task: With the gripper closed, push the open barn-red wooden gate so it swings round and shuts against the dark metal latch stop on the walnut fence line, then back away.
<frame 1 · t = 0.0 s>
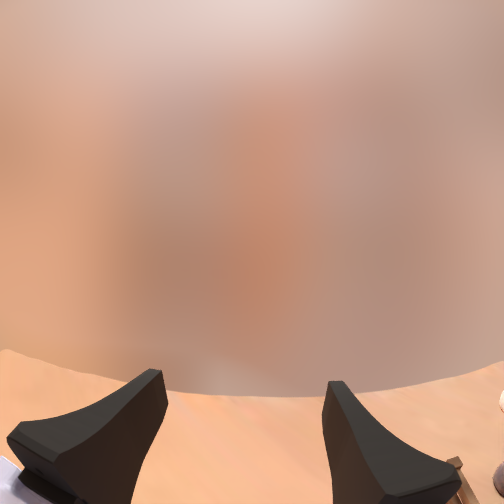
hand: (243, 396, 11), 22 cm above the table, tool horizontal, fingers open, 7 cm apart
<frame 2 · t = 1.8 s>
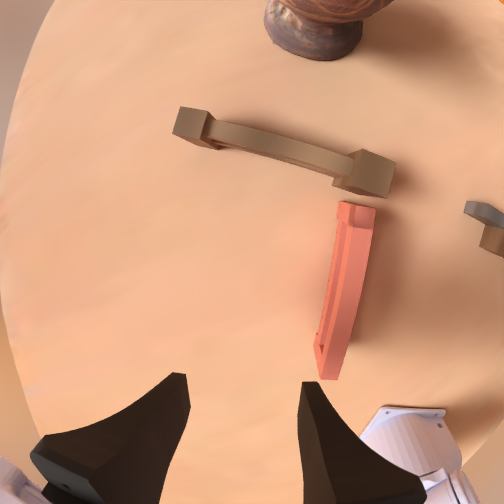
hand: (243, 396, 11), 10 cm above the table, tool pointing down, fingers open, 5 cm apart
fence: (349, 176, 19), on the table
mortar and pestle: (321, 12, 16), on the table
gate: (341, 290, 18), point 2 cm above the table, hinge at 80.0°
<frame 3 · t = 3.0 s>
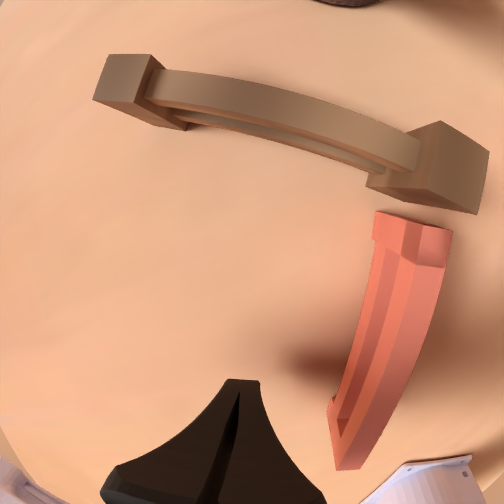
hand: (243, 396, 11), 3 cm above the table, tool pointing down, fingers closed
fence: (390, 173, 11), on the table
gate: (376, 353, 11), point 2 cm above the table, hinge at 80.0°
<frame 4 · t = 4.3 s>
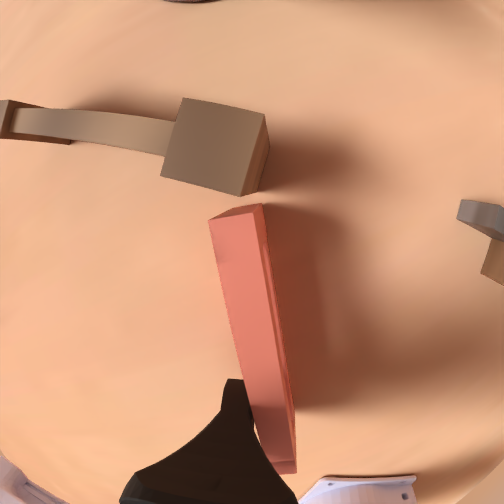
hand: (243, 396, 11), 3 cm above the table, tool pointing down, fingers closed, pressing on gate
fence: (240, 162, 12), on the table
gate: (267, 354, 11), point 2 cm above the table, hinge at 63.8°, touching gripper
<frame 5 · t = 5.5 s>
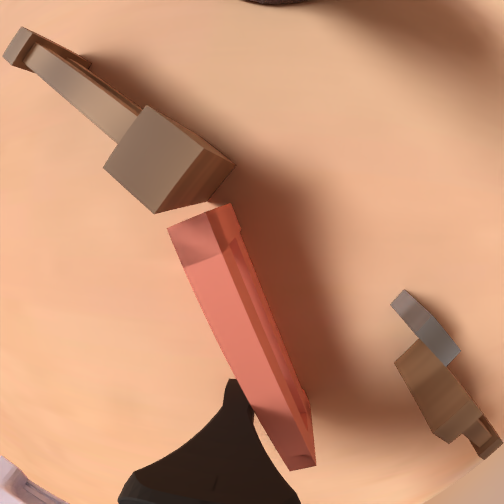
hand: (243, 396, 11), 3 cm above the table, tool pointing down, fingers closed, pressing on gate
fence: (203, 169, 12), on the table
gate: (262, 349, 11), point 2 cm above the table, hinge at 28.6°, touching gripper
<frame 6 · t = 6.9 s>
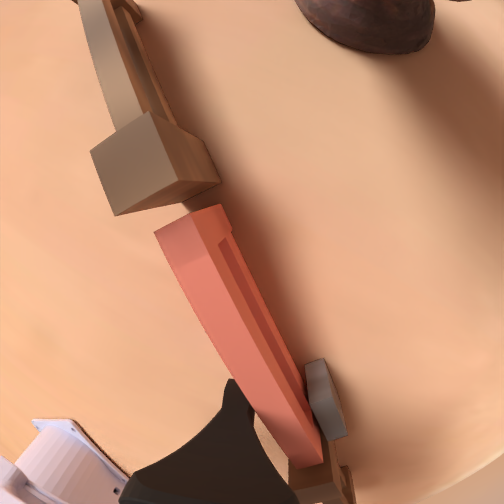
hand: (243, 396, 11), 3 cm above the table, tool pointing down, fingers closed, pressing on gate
fence: (191, 171, 12), on the table
mortar and pestle: (390, 3, 9), on the table
gate: (260, 348, 11), point 2 cm above the table, hinge at -0.7°, touching gripper
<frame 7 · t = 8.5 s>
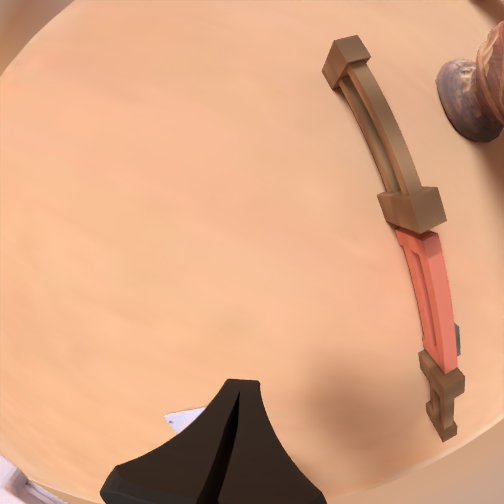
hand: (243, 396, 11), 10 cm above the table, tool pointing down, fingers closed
fence: (392, 203, 19), on the table
mortar and pestle: (480, 102, 16), on the table
gate: (431, 301, 18), point 2 cm above the table, hinge at -0.7°
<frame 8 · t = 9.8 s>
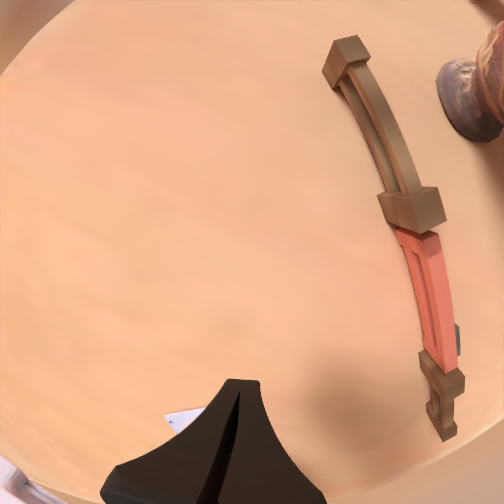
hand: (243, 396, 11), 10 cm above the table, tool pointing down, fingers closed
fence: (392, 203, 19), on the table
mortar and pestle: (480, 102, 16), on the table
gate: (431, 301, 18), point 2 cm above the table, hinge at -0.7°
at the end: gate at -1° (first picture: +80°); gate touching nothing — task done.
